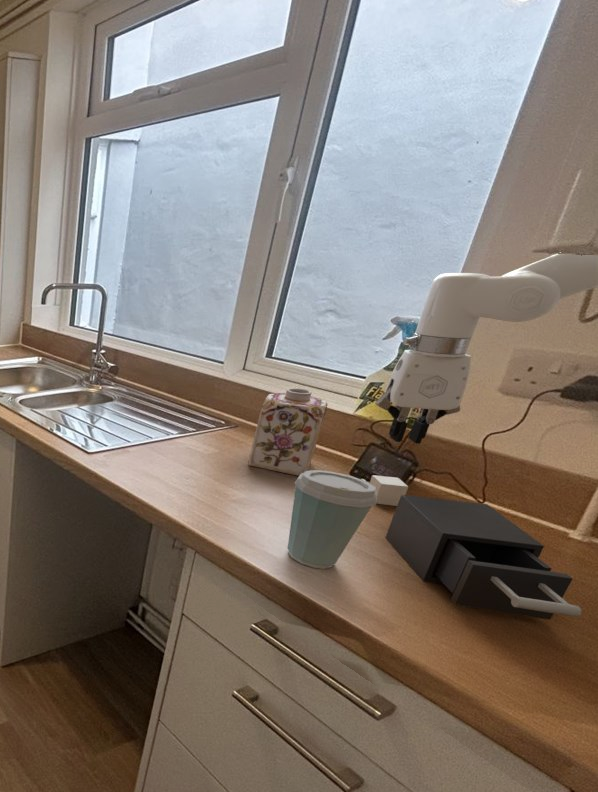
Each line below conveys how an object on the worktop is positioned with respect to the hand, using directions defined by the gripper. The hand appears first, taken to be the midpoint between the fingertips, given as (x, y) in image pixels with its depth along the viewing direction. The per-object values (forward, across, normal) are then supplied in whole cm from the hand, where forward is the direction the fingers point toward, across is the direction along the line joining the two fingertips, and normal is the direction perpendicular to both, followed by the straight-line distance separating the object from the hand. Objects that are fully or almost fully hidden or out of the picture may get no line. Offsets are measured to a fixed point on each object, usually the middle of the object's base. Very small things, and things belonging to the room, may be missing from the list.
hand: (404, 439), depth 102 cm
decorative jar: (+13, -15, +15) cm, 25 cm away
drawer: (+12, 0, -35) cm, 37 cm away
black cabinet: (+13, 0, -24) cm, 27 cm away
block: (+13, 0, 0) cm, 13 cm away
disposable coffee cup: (+13, -20, -29) cm, 38 cm away
